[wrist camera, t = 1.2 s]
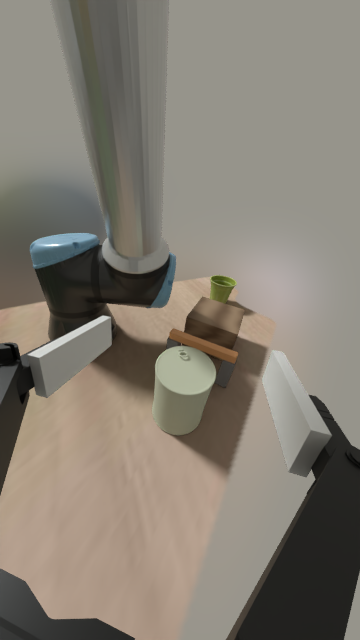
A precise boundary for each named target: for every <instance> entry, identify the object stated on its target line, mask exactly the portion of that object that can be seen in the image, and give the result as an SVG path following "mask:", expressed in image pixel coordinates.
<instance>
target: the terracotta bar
mask: <svg viewBox="0 0 360 640" xmlns="http://www.w3.org/2000/svg"><path fill="white" fill-rule="evenodd" d="M169 338H170V339H172V340H175V341H178V342H180V343H183V344H185V345H188V346H190V347H193V348H195V349H198V350H200V351H203V352H206V353H208V354H211V355H213V356H216V357H218V358H221V359H223V360H226V361H228V362H231V363H234V364H235V361H236V359H237V356H238V352H235V351H232V350H230V349H227V348H224V347H222V346H219V345H216V344H214V343H211V342H208V341H206V340H203V339H200V338H198V337H195V336H192V335H190V334H187V333H184V332H182V331H179V330H176V329H174V328H173V329H172V330H171V332H170V335H169Z"/></svg>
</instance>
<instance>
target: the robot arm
mask: <svg viewBox="0 0 360 640" xmlns="http://www.w3.org/2000/svg"><path fill="white" fill-rule="evenodd" d="M50 3H51V7H52V11H53V15H54V19H55V24H56V27H57V32H58V36H59V40H60V44H61V48H62V52H63V56H64V60H65V64H66V68H67V73H68V77H69V81H70V85H71V89H72V93H73V97H74V101H75V105H76V109H77V113H78V117H79V122H80V125H81V130H82V134H83V138H84V141H85V146H86V150H87V154H88V158H89V162H90V166H91V170H92V174H93V179H94V182H95V187H96V191H97V195H98V199H99V203H100V207H101V211H102V215H103V219H104V223H105V227H106V232H107V236H108V238H107V239H106V240H105V241H104V244H103V245H99V243H100V241H99V240H98V237H97V236H95V235H92V234H88V233H71V234H61V235H53V236H48V237H44V238H41V239H38V240H36V241H34V242H33V243H32V244H31V246H30V253H31V257H32V261H33V268H34V269H35V271H36V274H37V277H38V279H39V282H40V285H41V288H42V291H43V293H44V296H45V299H46V302H47V305H48V307H49V310H50V320H49V330H48V335H49V339H50V341H49V342H47V343H46V344H43V345H41V346H40V347H38V348H36V349H34V350H32V351H30V352H28V353H26V354H24V355H22V356H20V353H19V349H18V345H17V344H15V343H1V344H0V494H1V491H2V488H3V484H4V481H5V477H6V474H7V471H8V467H9V464H10V460H11V457H12V454H13V450H14V447H15V443H16V440H17V437H18V433H19V430H20V426H21V423H22V420H23V416H24V413H25V409H26V406H27V402H28V399H29V390H30V389H32V388H33V387H35V392H36V395H39V396H42V397H46V398H48V397H49V396H50V395H51V394H53V393H54V392H55V391H56V390H58V389H59V388H60V387H61V386H62V385H64V384H65V383H66V382H67V381H69V380H70V379H71V378H72V377H73V376H75V375H76V374H77V373H78V372H80V371H81V370H82V369H83V368H84V367H86V366H87V365H88V364H89V363H91V362H92V361H93V360H94V359H95V358H97V357H98V356H99V355H100V354H102V353H103V352H104V351H105V350H106V349H108V348H109V347H110V346H111V345H112V340H113V339H114V337H115V336H116V333H117V327H116V321H115V319H114V317H113V315H112V313H111V312H110V310H109V308H108V306H107V304H106V303H108V304H118V305H127V306H136V307H145V308H162V307H164V306H165V305H166V304H167V303H168V300H169V298H170V294H171V290H172V283H173V280H174V275H175V268H176V256H175V255H174V254H171V253H170V252H169V247H168V244H167V242H166V241H165V240H164V239H163V238H162V237H161V234H162V232H161V231H162V202H163V201H162V200H163V169H164V139H165V107H166V106H165V105H166V76H167V43H168V13H169V11H168V10H169V0H50ZM262 382H263V385H264V389H265V393H266V396H267V400H268V403H269V406H270V410H271V414H272V417H273V421H274V424H275V427H276V431H277V434H278V438H279V441H280V445H281V448H282V452H283V455H284V459H285V462H286V465H287V469H288V472H290V473H294V474H297V475H300V476H304V477H307V475H308V474H309V472H310V471H311V469H312V471H313V474H314V476H315V479H316V480H315V481H314V483H313V484H312V486H311V488H310V489H309V490H308V492H307V495H306V497H305V499H304V501H303V502H302V504H301V506H300V508H299V510H298V511H297V513H296V515H295V517H294V519H293V520H292V522H291V524H290V526H289V528H288V529H287V531H286V533H285V535H284V537H283V538H282V540H281V542H280V544H279V545H278V547H277V549H276V551H275V553H274V554H273V556H272V558H271V560H270V562H269V563H268V565H267V567H266V569H265V571H264V572H263V574H262V576H261V578H260V580H259V581H258V583H257V585H256V587H255V589H254V591H253V592H252V594H251V596H250V598H249V599H248V601H247V603H246V605H245V607H244V608H243V610H242V612H241V614H240V616H239V618H238V619H237V621H236V623H235V625H234V626H233V628H232V630H231V632H230V634H229V635H228V637H227V639H226V640H344V636H345V632H346V627H347V623H348V619H349V615H350V610H351V606H352V602H353V597H354V593H355V589H356V584H357V580H358V576H359V571H360V450H359V449H357V448H356V447H354V446H352V445H351V444H350V442H349V441H348V439H347V438H346V437H345V435H344V433H343V432H342V430H341V429H340V427H339V426H338V424H337V423H336V421H334V418H333V416H332V415H331V414H330V412H329V410H328V409H327V407H326V406H325V404H324V403H322V401H320V400H319V399H318V398H317V397H316V396H312V395H308V394H307V392H306V390H305V388H304V387H303V385H302V383H301V382H300V380H299V378H298V376H297V375H296V373H295V372H294V370H293V368H292V366H291V365H290V363H289V361H288V359H287V358H286V356H285V354H284V353H283V352H280V351H275V350H272V352H271V355H270V358H269V361H268V363H267V366H266V369H265V372H264V375H263V378H262ZM0 640H135V638H133V637H131V636H129V635H127V634H126V633H124V632H122V631H120V630H118V629H116V628H114V627H112V626H110V625H108V624H106V623H104V622H102V621H101V620H99V619H97V618H93V619H56V620H55V619H50V618H49V617H48V616H47V614H46V613H45V611H44V610H43V608H42V607H41V605H40V603H39V602H38V600H37V599H36V597H35V596H34V594H33V593H32V591H31V589H30V588H29V586H28V585H27V583H26V582H25V581H23V580H21V579H20V578H18V577H16V576H14V575H12V574H10V573H8V572H6V571H4V570H2V569H0Z"/></svg>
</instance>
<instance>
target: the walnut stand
mask: <svg viewBox="0 0 360 640" xmlns="http://www.w3.org/2000/svg"><path fill="white" fill-rule="evenodd" d="M244 312H245V310H244V309H241V308H238V307H234V306H231V305H228V304H225V303H222V302H218V301H215V300H212V299H209V298H205V297H202V298H201V299H200V301H199V302H198V303H197V304H196V306H195V307H194V308H193V309H192V311H191V312H190V313H189V315H188V316H187V318H186V324H185V330H184V333H187V334H190V335H192V336H195V337H198V338H200V339H203V340H206V341H208V342H211V343H214V344H216V345H219V346H222V347H224V348H227V349H230V350H232V348H233V346H234V343H235V341H236V338H237V336H238V333H239V329H240V326H241V322H242V319H243V315H244ZM182 345H183V346H188V345H185V344H183V343H182ZM188 347H190V346H188ZM192 348H193V347H192ZM202 352H203V351H202ZM203 353H205V354H206V355H208V356H211V357H213V358H216V359H218V360H221V361H223V359H221V358H218V357H216V356H213V355H211V354H208V353H206V352H203Z"/></svg>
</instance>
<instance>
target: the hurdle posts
mask: <svg viewBox="0 0 360 640" xmlns="http://www.w3.org/2000/svg"><path fill="white" fill-rule="evenodd" d="M176 346H181V343H180V342H178V341H175V340H172V339H170V338H168V339H167V348H166V350H167V349H169V348H172V347H176ZM236 360H237V359H236ZM235 364H236V361H235ZM235 364H234V363H231V362H228V361H226V360H223V361H222V363H221V366H220V369H219V372H218V374H217V377H216V380H215V383H216V384H218V385H220V386H222V387H226V385H227V383H228V381H229V378H230V376H231V374H232V372H233V369H234V367H235Z"/></svg>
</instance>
